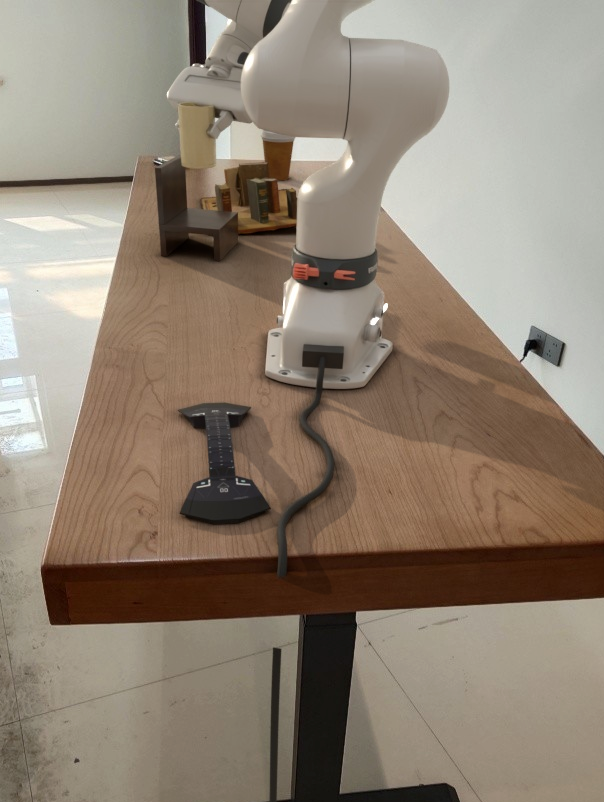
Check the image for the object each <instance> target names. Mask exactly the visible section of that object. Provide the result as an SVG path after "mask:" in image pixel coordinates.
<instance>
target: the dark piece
mask: <svg viewBox="0 0 604 802" xmlns="http://www.w3.org/2000/svg"><path fill="white" fill-rule="evenodd" d="M251 409H252V406H248V405H241V404H236V403H229V402H204V403H199V404H195V405H192V406H187V407H183V408H178V409H177V412H179V413H180V414H182V415H183V417H184V418H185V420H186V421H187V422H188V423H189V424H190V426H192V427H193V428H192V429H206V430H205V432H206V444H207V457H208V475H209V476H208V477H205V478H203V479H200V480H198V481H195V482H193V483H192V485H191V487H190V490H189V492H188V494H187V495H186V497H185V500H184V502H183V504H182V505H181V507H180V510H179V515H182V516H185V517H184V518H188V519H191V520H195V521H199V522H202V523H203V522H204V523H207V524H211V525H229V524H231V525H232V524H240V523H242V522H244V521H247V520H250V519H253V518H255V517H258V516H261V515H263V514H266V512H267V511H269V510H271V509H272V507H271V506H270V504H269V502H268V501H267V499H266V498H265V496H264V494H263V493H262V492H261V491H260V489H259V488H258V486H257V485H256V483H255V482H254V480H253V479H250V478H247V477H242V476H239V475H236V466H235V457H234V456H235V455H234V448H233V440H232V438H233V437H232V432H231V428H237V427H240V425H241V423H242V421H243V420H244V418H245V416H246V414H247V413H248V412H249V411H250V410H251Z"/></svg>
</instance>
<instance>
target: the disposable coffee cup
mask: <svg viewBox="0 0 604 802" xmlns="http://www.w3.org/2000/svg"><path fill="white" fill-rule="evenodd" d="M260 137H261V140H262V149H263V158H264V162H268V171H269V178H276V179H277V181H287V180H289V179H290V178H289V177H290V170H291V163H292V157H293V148H294V141H295V139H296V137H290V136H285V135H281V134H277V133H273V132H269V131H266V130H262V131H261V135H260Z"/></svg>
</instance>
